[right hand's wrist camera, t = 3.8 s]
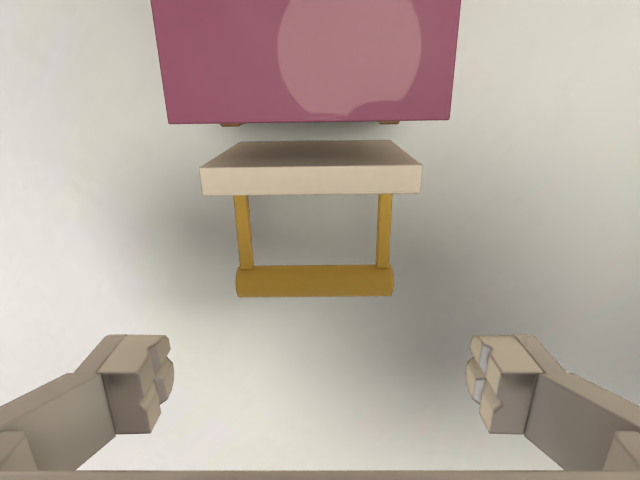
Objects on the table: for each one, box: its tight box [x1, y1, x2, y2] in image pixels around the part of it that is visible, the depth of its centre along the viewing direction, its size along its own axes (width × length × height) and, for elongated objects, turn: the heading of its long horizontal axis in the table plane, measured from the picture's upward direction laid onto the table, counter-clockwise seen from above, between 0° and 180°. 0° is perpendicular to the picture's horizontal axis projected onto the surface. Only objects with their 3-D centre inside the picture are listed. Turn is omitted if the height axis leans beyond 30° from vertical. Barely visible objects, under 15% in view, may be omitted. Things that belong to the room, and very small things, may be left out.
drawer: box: [199, 121, 422, 297], centre depth 19 cm, size 22×9×8 cm, turn 1°
